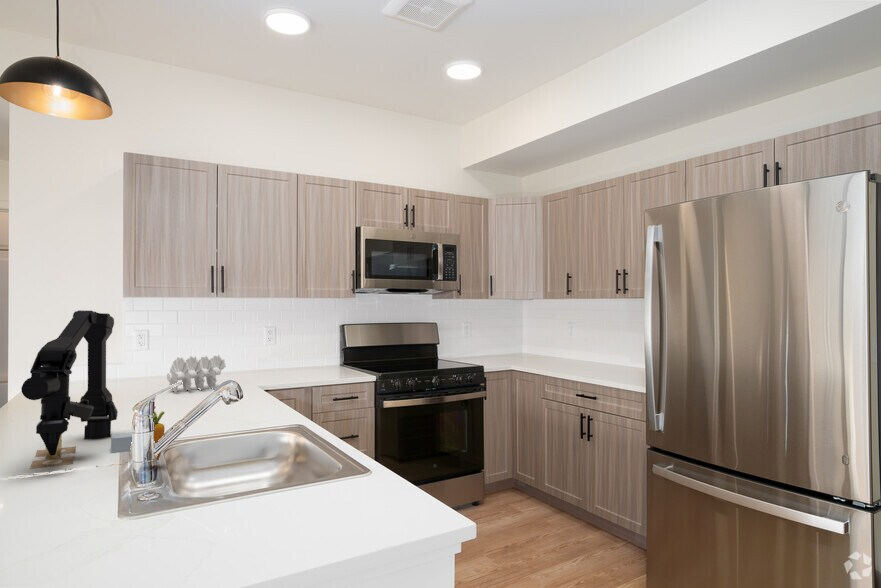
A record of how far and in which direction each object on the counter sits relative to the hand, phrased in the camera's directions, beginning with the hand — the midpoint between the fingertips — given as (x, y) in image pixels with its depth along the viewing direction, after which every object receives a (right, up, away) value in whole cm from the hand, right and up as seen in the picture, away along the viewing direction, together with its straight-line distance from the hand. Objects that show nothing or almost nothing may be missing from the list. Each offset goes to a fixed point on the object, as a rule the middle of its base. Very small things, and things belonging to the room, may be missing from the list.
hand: (53, 453), depth 138 cm
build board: (0, -3, 0) cm, 3 cm away
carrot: (+26, -4, 0) cm, 26 cm away
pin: (0, -1, 0) cm, 1 cm away
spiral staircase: (-22, -7, +126) cm, 128 cm away
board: (-7, -4, +10) cm, 12 cm away
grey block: (+10, -4, +13) cm, 17 cm away
